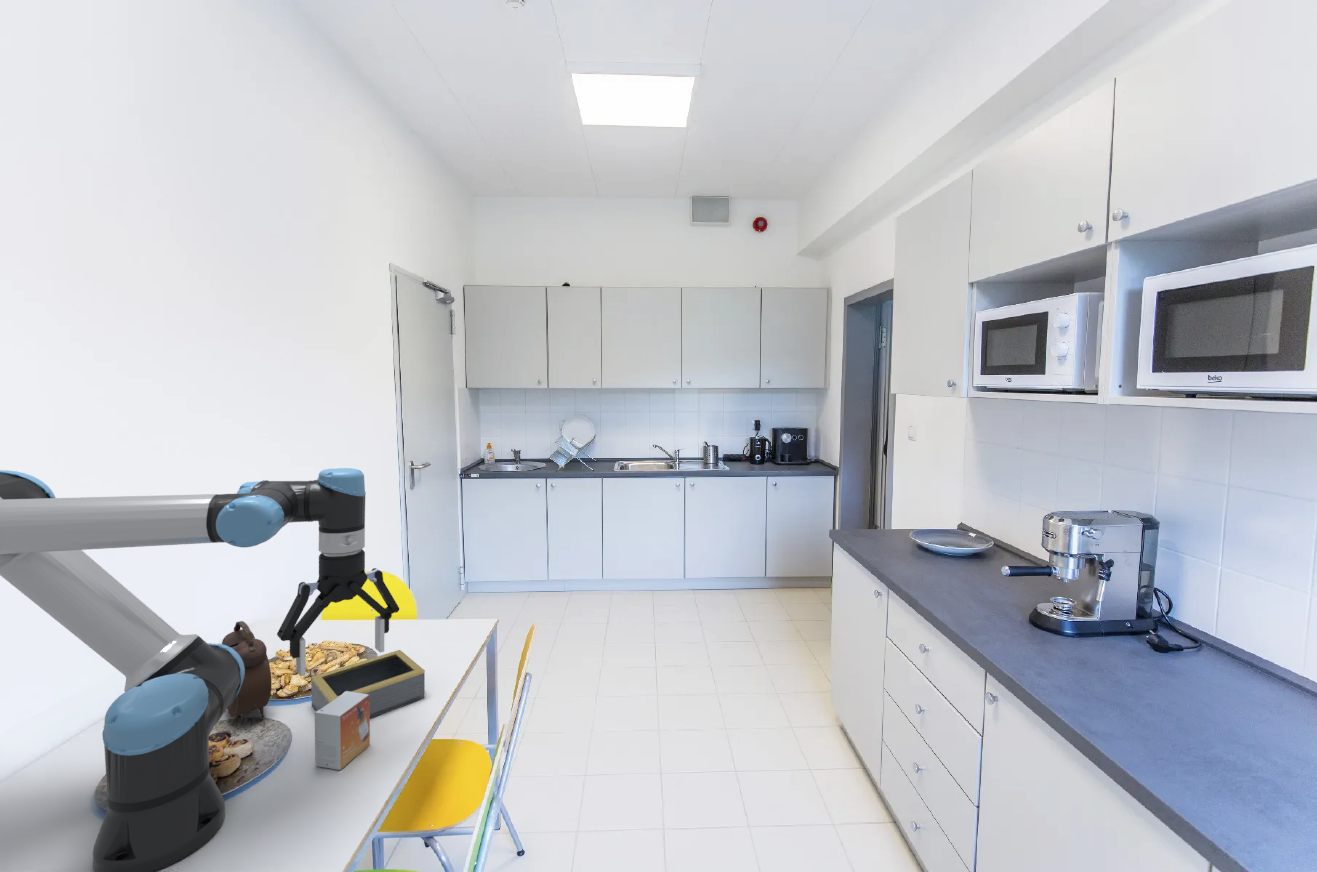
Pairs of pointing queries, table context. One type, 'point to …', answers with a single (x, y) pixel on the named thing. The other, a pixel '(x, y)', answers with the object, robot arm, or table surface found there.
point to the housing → (373, 683)
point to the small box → (342, 730)
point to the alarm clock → (250, 672)
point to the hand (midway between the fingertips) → (342, 661)
